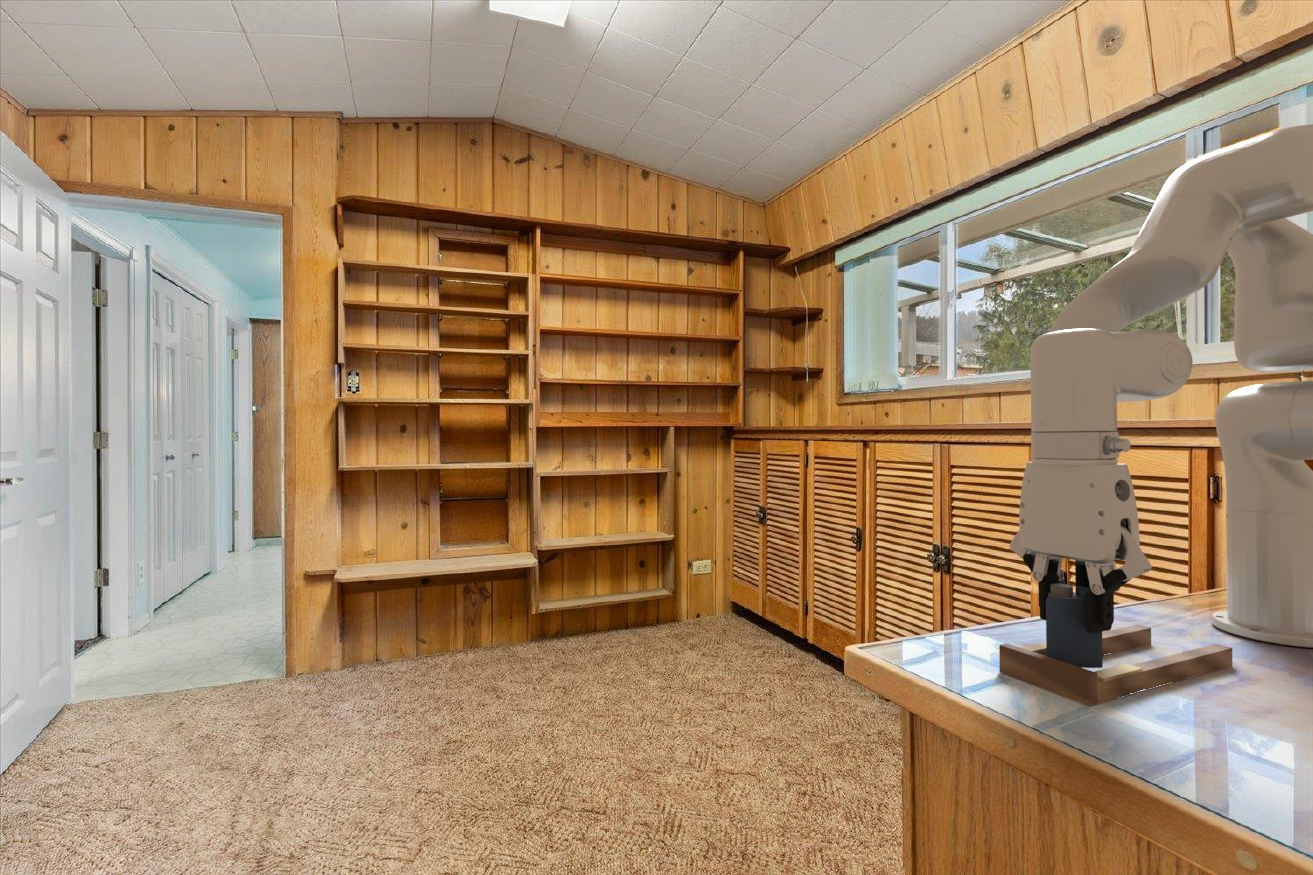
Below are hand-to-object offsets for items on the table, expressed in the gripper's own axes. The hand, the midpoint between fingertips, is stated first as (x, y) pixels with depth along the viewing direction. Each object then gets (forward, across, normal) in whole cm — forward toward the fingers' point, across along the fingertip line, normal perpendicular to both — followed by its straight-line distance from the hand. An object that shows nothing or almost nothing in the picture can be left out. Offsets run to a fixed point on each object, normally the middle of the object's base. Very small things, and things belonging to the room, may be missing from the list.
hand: (1074, 622), depth 66 cm
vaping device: (+5, 0, 0) cm, 5 cm away
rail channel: (+6, 0, -8) cm, 10 cm away
